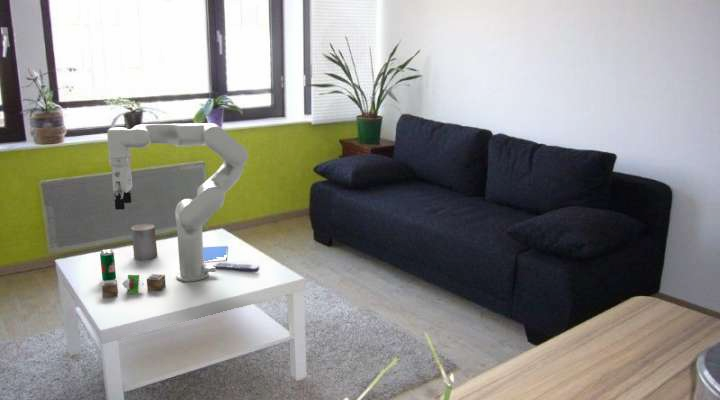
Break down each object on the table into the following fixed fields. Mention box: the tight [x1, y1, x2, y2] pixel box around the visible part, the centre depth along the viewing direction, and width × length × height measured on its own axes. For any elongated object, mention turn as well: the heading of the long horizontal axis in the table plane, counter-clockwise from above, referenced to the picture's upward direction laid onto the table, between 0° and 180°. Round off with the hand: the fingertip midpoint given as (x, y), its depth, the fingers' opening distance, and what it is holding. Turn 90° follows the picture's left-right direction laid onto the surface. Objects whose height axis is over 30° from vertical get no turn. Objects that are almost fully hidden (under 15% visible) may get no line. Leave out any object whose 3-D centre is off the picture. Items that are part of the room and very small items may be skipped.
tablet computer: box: [203, 245, 228, 261], centre depth 283 cm, size 19×13×1 cm, turn 10°
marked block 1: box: [101, 279, 119, 299], centre depth 238 cm, size 5×5×5 cm
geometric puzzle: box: [121, 274, 145, 294], centre depth 241 cm, size 7×7×8 cm
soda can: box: [99, 248, 117, 281], centre depth 252 cm, size 5×5×12 cm
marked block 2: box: [146, 273, 167, 293], centre depth 244 cm, size 5×5×5 cm
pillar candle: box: [131, 223, 158, 261], centre depth 279 cm, size 10×10×15 cm
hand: (123, 206), depth 242 cm, fingers open, 9 cm apart
